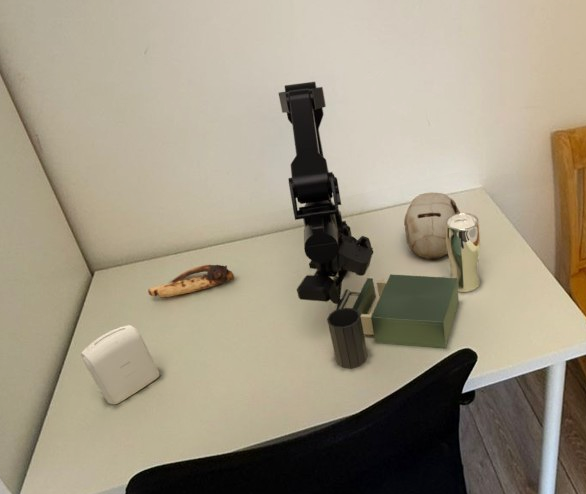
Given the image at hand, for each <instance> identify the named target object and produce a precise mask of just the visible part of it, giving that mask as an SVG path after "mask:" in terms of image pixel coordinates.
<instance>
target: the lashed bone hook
mask: <svg viewBox="0 0 586 494" xmlns="http://www.w3.org/2000/svg"><path fill="white" fill-rule="evenodd" d="M204 272H205V273H204ZM199 273H204V274H202V275H200V276H195V277H191V278H187V277H189V276H192V275H194V274H195V275H196V274H199ZM234 277H235V274H234V273H233V271H232V270H229V269H228V265H221V264H204V265H199V266H196V267H194V268H191V269H188V270H186V271H184V272H182V273H180V274H178V275H177V276H176V277H174V278H173V279H172V280H171V282H170V283H164V284H160V285H156V286H152V287H149V288H148V290H147V291H148V295H149V296H151V297H157V296H158V297H160V298H169V297H174V296H179V295H184V294H189V293H193V292H197V291H200V290H205V289H209V288H212V287H216V286H219V285H222V284H223V283H226V282H227V281H231V280H233V279H234ZM185 278H186V279H185Z"/></svg>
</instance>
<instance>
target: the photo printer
mask: <svg viewBox="0 0 586 494" xmlns="http://www.w3.org/2000/svg"><path fill="white" fill-rule="evenodd" d="M80 355H81V358H82V360H83V364H84V366H85V367H86V369H87V371H88V372H89V374H90V375H91V377H92V379H93V381H94V383H95V384H96V386H97V387H98V389H99V391H100V392H101V394H102V396H103V397H104V399H105V401H106V402H107V403H108V404H109V405H117V404H120V403H121V402H123V401H125V400H126V399H128V398H130V397H131V396H133V395H135V394H136V393H137V392H139V391H141V390H142V389H144V388H145V387H146V386H148V385H150V384H151V383H153V382H154V381H156V379H158V378H159V377H160V376H161V375H160V371H159V369H158V367H157V364H156V362H155V361H154V359H153V357H152V355H151V353H150V351H149V349H148V347H147V344H146V343H145V341H144V338H143V337H142V335H141V333H140V332H139V331H138V330H137V328H136V327H134V326H132V325H131V324H128V325H127V324H126V325H122V326H120V327H116V328H114V329H111V330H110V331H107V332H106V333H104V334H102V335H100V336H99V337H97V338H96V339H94V340H93V341H92V342H90V344H88V345H87V346H86V347H85V348H84V349H83V350H82V352H81V353H80Z"/></svg>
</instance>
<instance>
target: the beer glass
mask: <svg viewBox="0 0 586 494" xmlns="http://www.w3.org/2000/svg"><path fill="white" fill-rule="evenodd" d="M479 222H480V221H479V218H478V216H476V215H475V214H471V213H467V212H460V213H459V214H454V215H452V216H450V217H448V218H447V219H446V221H445V224H446V227H445V240H446V248H447V256H448V260H449V264H450V268H451V277H450V278H457V285H458V293H469V292H473V291H475V290H476V289H478V288H479V286H480V278H479V274H478V263H479V257H480V249H481V231H480V223H479Z"/></svg>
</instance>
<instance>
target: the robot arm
mask: <svg viewBox="0 0 586 494" xmlns="http://www.w3.org/2000/svg"><path fill="white" fill-rule="evenodd" d="M278 99H279V103H280V109H281V113H284V114H285V113H286V116H287V117H286V118H287V120H288V122H289V123H290V124H291V125H292V132H293V139H294V146H295V156H294V158H293V160H292V161H291V163H290V175H291V177H288V187H289V193H290V198H291V204H292V210H293V216H294V220H295V221H296V220H303V224H304V227H303V249H304V254H305V256H306V257H307V258H308V259H309V260H310V262H309V263H308V266H309V269H311V270H316V272H315V273H314V275H310V274H307V275H306V276H304V278H302V280H301V282H300V283H299V285H298V286H297V288H296V293H297V296H298V299H299V300H302V301H314V302H329V301H331V302H332V304H334V305H338V303H339V301H340V299H341V297H342V286H343V280H344V279H345V277H346V275H347V274H348V272H350V273H353V274H355V275H356V276H360V277H363V276H365V274H366V272H367V270H368V269H369V267H370V265H371V261H372V258H373V255H374V250H373V249H374V248H373V247H372V244H371V240H370V238H369V237H367V236H364V235H362V236H360V237H359V238H358V239H357V238H355V236H353V235H352V230H351V226H349V225H348V223H347V221H346V220H343V215H342V212H341V210H340V209H339V206H342V199H341V194H340V193H341V192H340V188H339V182H338V181H339V180H338V178H337V177H336V176H335V174H334V173H333V171H330V172H329V167H328V162H327V159H326V158H325V157H324V151H323V145H322V140H321V134H320V126H321V123H322V121H323V118H324V115H325V113H324V108H326V100H325V92H324V87H323V86H318V87H317V83H316V81H309V82H301V83H292V84H285V85H284V91H280V92H278ZM332 199H333V201H332ZM298 203H299V204H300V205H304V206H299V207H298Z"/></svg>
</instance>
